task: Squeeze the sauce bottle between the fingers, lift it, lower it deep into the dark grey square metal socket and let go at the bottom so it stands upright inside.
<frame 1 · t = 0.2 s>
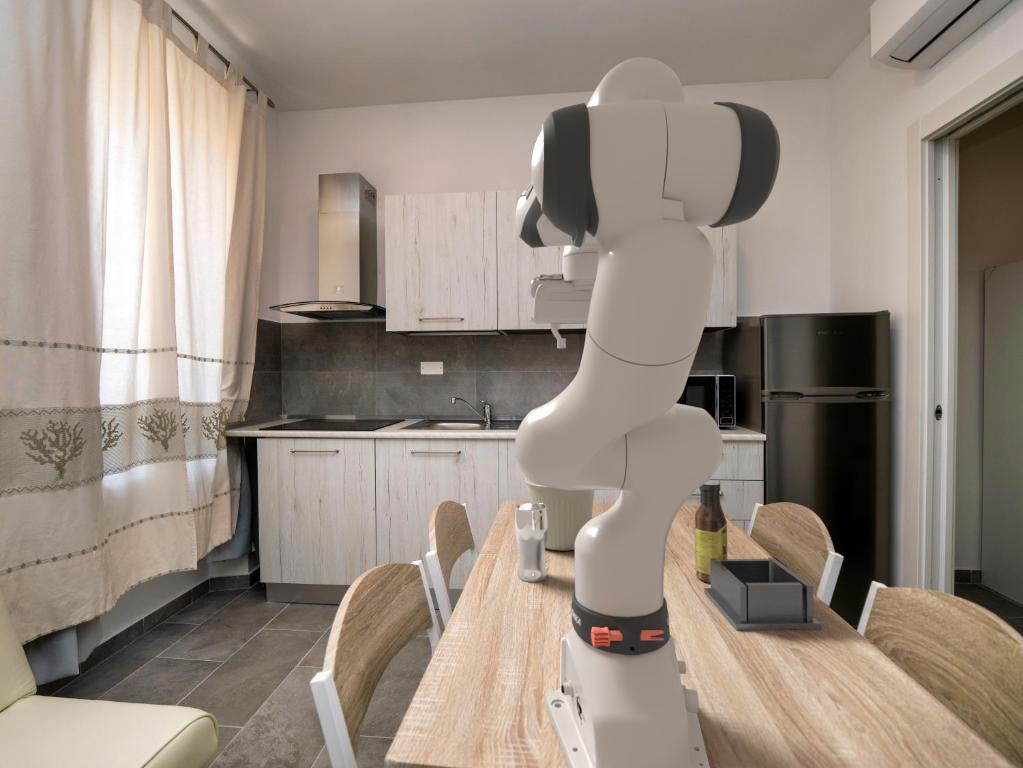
hand: (586, 347, 94), 48 cm above the table, tool pointing down, fingers open, 8 cm apart
canister: (561, 545, 126), on the table
square socket: (758, 610, 90), on the table
sauce bottle: (711, 579, 104), on the table
beer glass: (532, 577, 107), on the table
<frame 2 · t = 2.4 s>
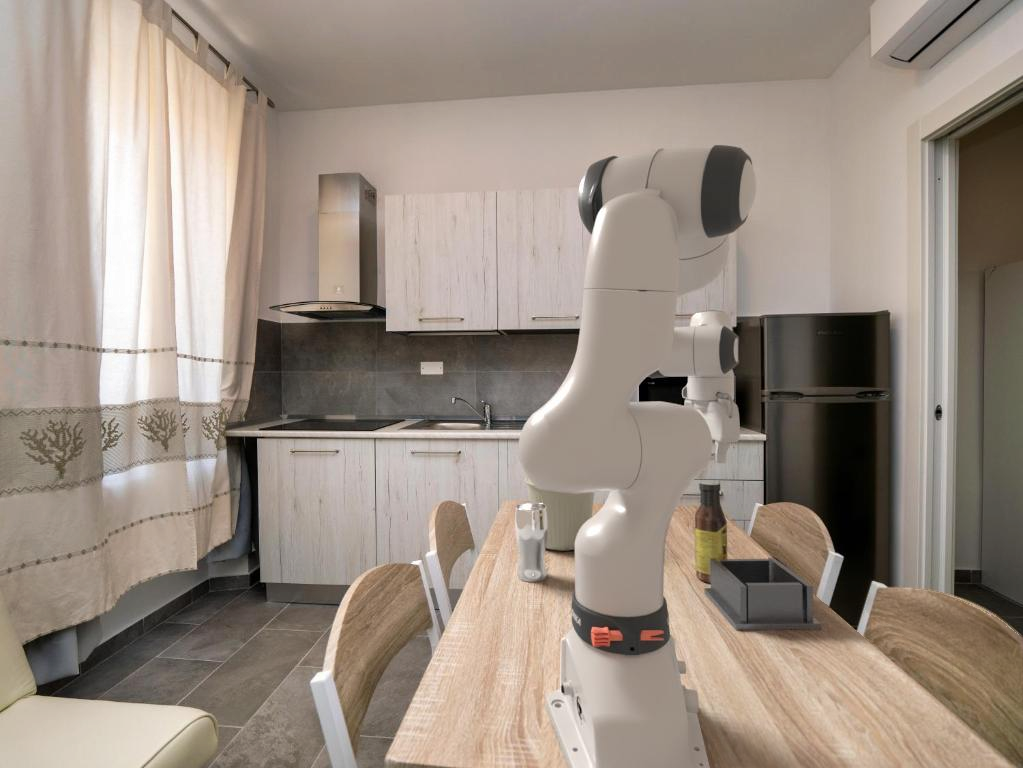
hand: (710, 458, 104), 25 cm above the table, tool pointing down, fingers open, 8 cm apart
nothing on the table moved.
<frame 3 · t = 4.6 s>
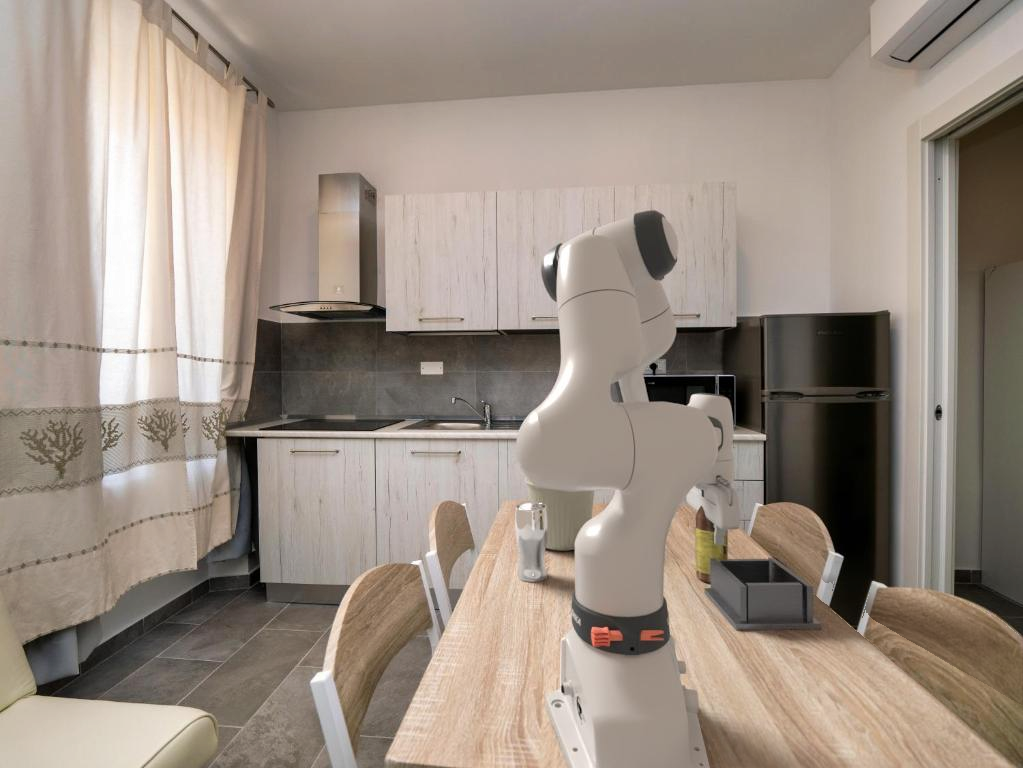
hand: (711, 537, 104), 8 cm above the table, tool pointing down, fingers open, 6 cm apart
sauce bottle: (711, 579, 104), on the table, touching arm, gripper
everything else where it was.
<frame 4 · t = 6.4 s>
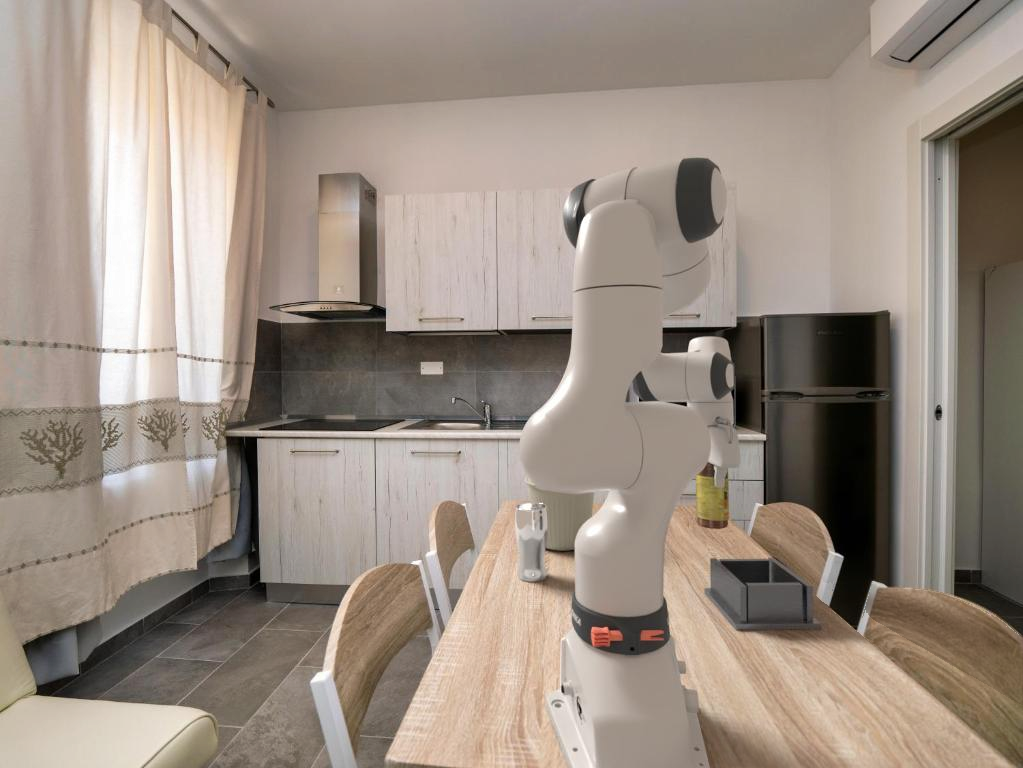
hand: (711, 483, 103), 20 cm above the table, tool pointing down, fingers closed on sauce bottle, 6 cm apart
sauce bottle: (712, 526, 104), point 11 cm above the table, touching gripper
everything else where it was.
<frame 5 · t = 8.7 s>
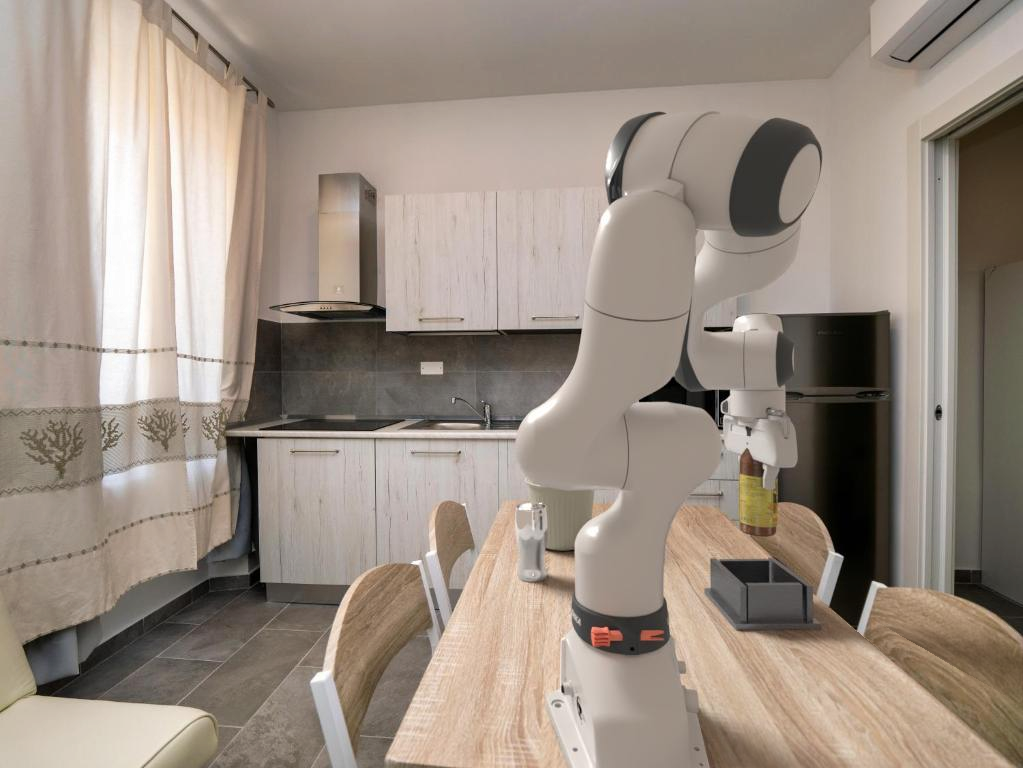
hand: (757, 483, 90), 23 cm above the table, tool pointing down, fingers closed on sauce bottle, 6 cm apart
sauce bottle: (757, 533, 90), point 14 cm above the table, touching gripper
everything else where it was.
when the fingers open (11 cm above the table, at t = 11.6 s): sauce bottle stays where it is, resting on square socket.
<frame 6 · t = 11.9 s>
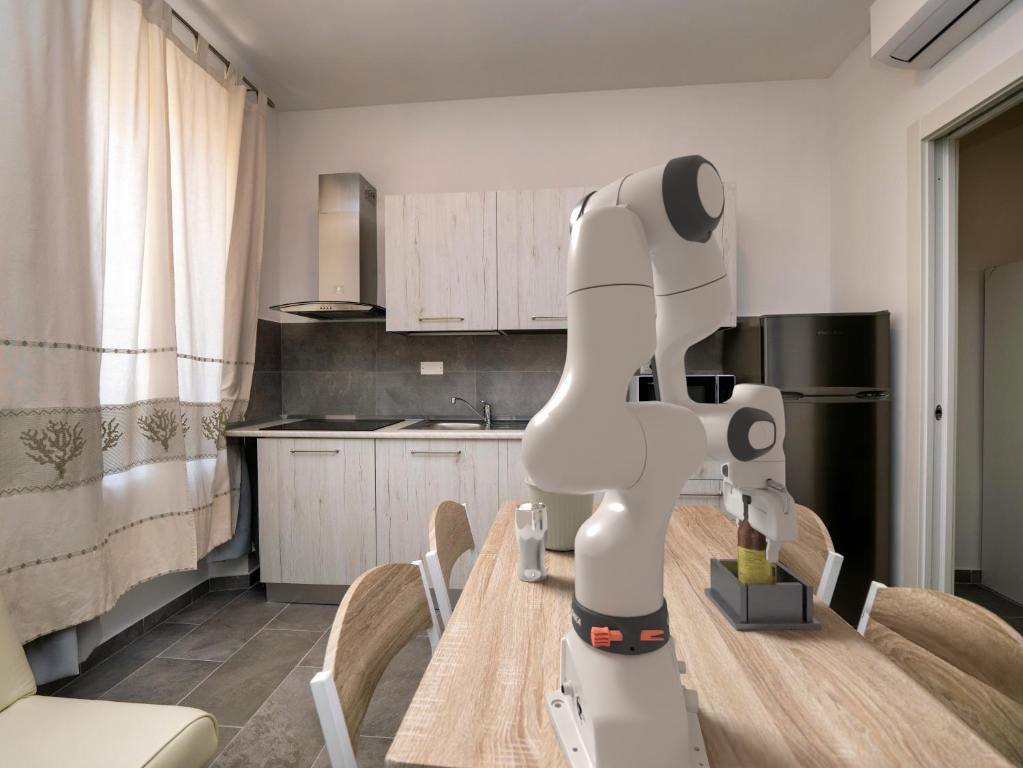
hand: (757, 551, 90), 11 cm above the table, tool pointing down, fingers open, 8 cm apart
sauce bottle: (757, 605, 90), point 1 cm above the table, touching square socket
everything else where it was.
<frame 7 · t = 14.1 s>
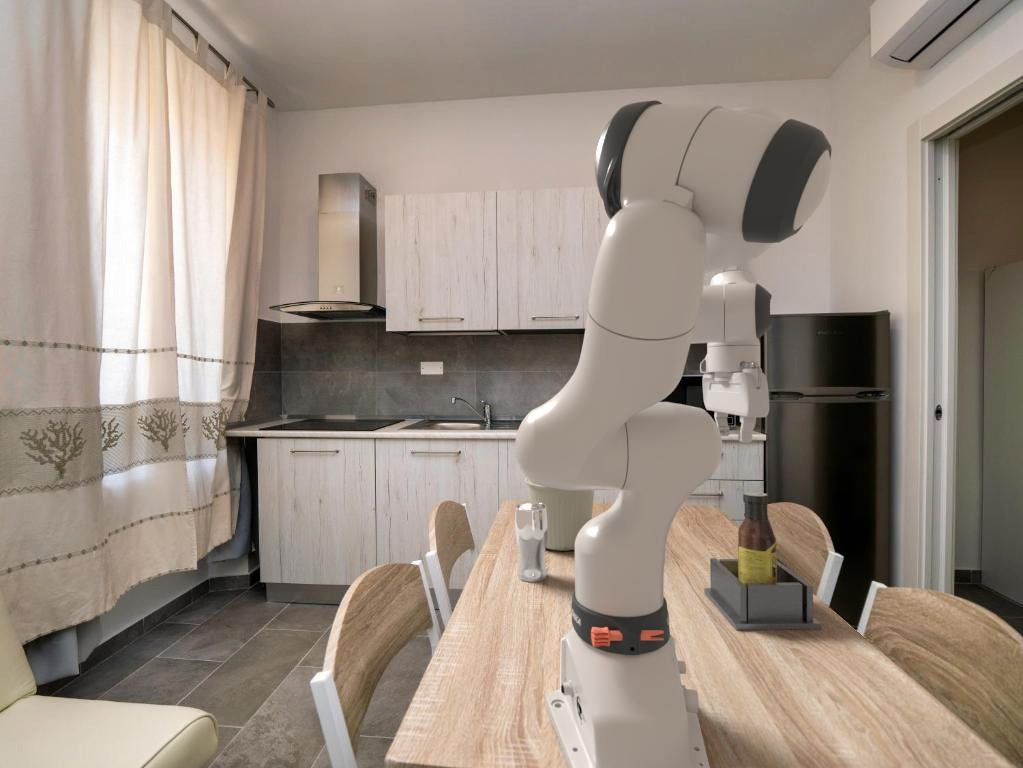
hand: (733, 438, 92), 31 cm above the table, tool pointing down, fingers open, 8 cm apart
nothing on the table moved.
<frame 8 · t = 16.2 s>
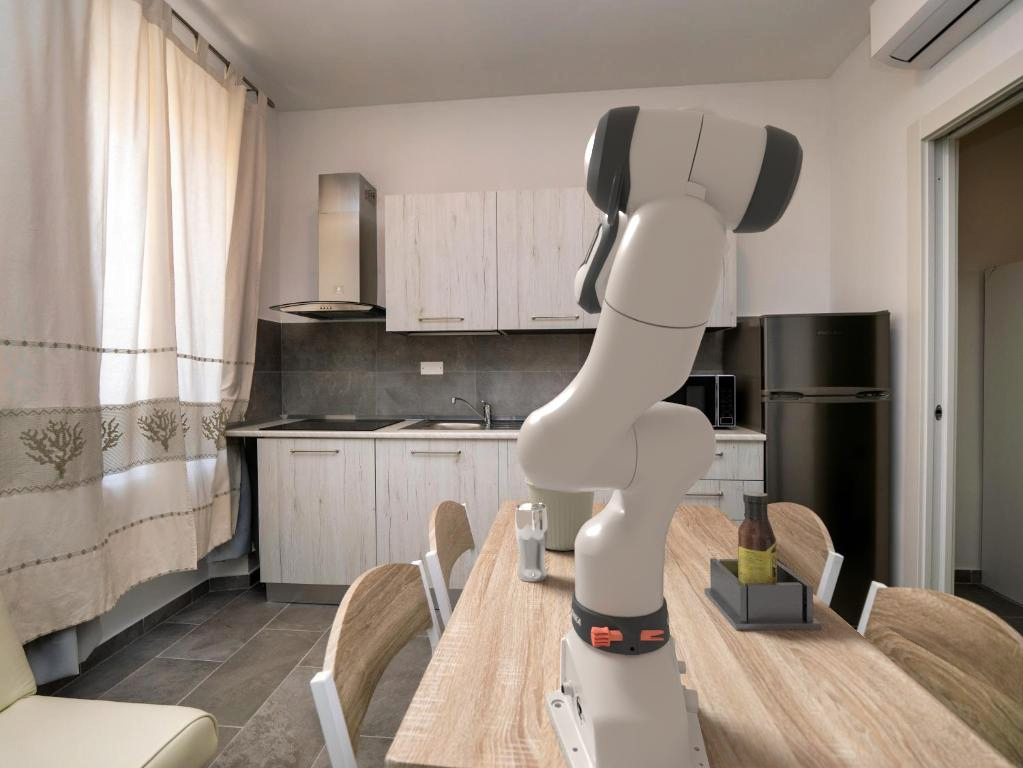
hand: (639, 400, 102), 37 cm above the table, tool pointing down, fingers open, 8 cm apart
nothing on the table moved.
at the end: sauce bottle 0.1 cm off-centre on the square socket, point 0.8 cm above the square socket's base; sauce bottle tilted 0°; the gripper is holding nothing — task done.
